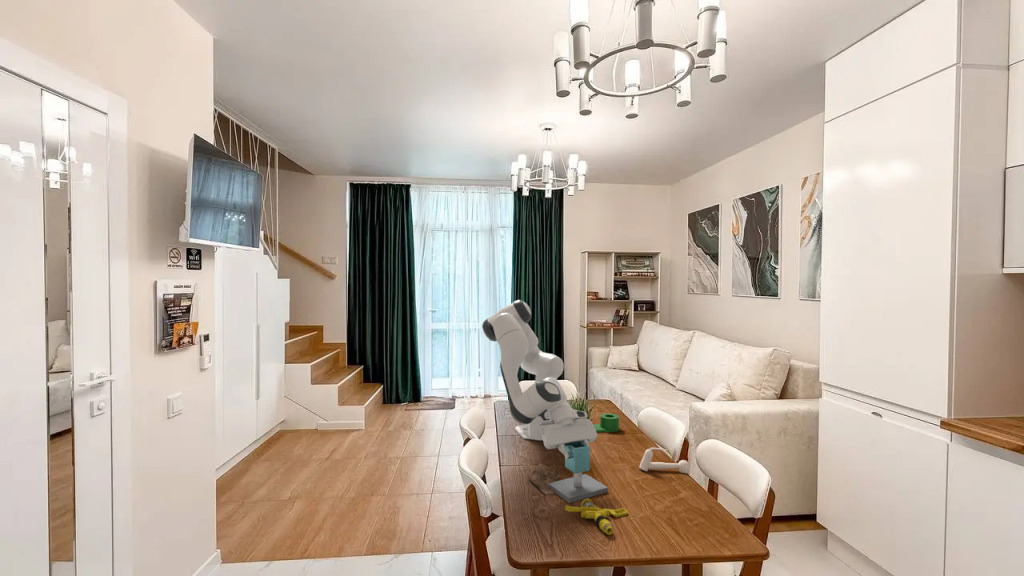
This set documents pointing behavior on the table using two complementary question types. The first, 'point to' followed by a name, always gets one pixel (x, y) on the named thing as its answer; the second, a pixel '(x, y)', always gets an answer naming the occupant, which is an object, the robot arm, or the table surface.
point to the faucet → (661, 463)
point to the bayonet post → (577, 487)
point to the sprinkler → (597, 514)
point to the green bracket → (607, 423)
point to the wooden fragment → (544, 478)
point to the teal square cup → (578, 457)
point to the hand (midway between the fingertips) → (578, 456)
